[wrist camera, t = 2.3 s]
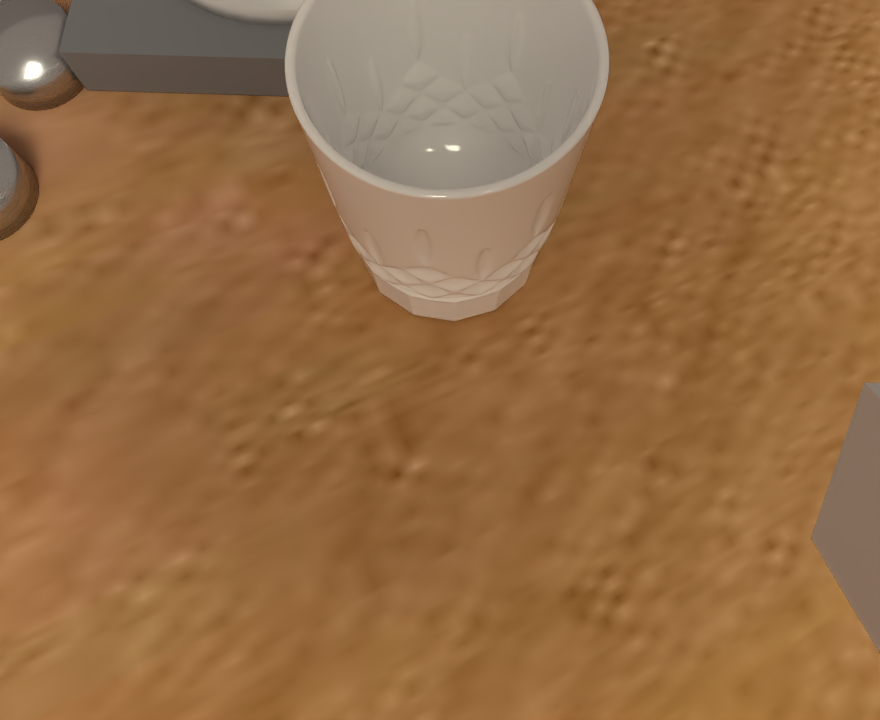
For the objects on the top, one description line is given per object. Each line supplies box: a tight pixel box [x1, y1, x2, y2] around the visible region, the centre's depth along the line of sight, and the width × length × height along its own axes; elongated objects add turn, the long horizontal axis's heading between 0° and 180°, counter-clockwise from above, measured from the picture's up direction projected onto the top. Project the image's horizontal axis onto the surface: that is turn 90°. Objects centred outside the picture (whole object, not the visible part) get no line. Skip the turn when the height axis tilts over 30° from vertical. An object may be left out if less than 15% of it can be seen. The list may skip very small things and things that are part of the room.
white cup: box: [285, 0, 609, 321], centre depth 22 cm, size 8×8×10 cm
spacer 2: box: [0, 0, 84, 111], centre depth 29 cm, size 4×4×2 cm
